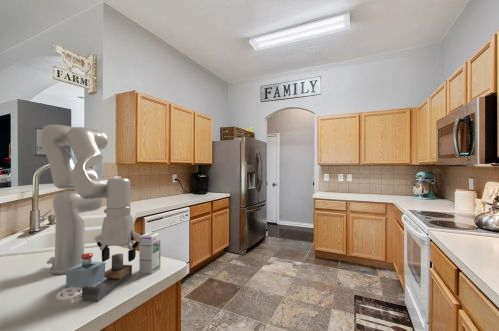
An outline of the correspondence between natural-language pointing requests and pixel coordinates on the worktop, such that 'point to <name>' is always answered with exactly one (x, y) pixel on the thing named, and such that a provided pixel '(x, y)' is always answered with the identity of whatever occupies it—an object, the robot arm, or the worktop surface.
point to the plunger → (86, 259)
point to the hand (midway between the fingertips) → (118, 260)
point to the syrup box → (149, 253)
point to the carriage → (117, 267)
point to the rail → (103, 287)
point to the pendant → (66, 295)
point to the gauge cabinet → (85, 275)
